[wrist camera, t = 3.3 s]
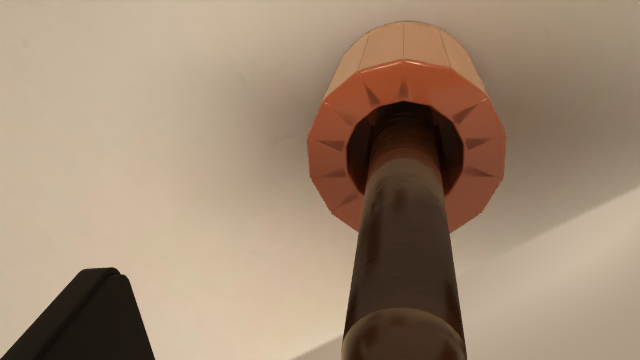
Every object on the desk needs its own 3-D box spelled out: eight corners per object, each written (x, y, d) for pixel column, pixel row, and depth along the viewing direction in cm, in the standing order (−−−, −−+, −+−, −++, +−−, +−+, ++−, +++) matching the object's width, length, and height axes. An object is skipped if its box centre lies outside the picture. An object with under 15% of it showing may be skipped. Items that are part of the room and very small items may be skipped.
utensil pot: (505, 55, 22) (546, 109, 16) (435, 181, 24) (446, 271, 18) (368, -5, 22) (353, 25, 15) (313, 128, 24) (280, 200, 18)
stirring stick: (438, 84, 22) (499, 386, 8) (415, 128, 23) (434, 473, 9) (392, 64, 22) (367, 331, 8) (371, 109, 23) (314, 424, 9)
